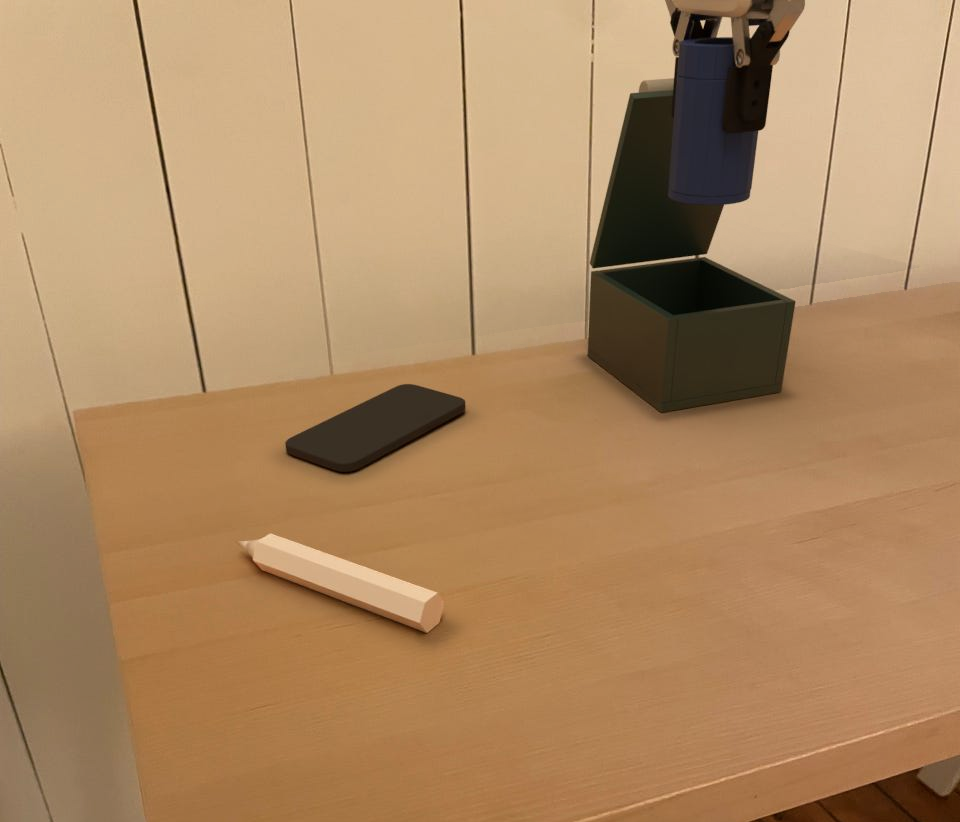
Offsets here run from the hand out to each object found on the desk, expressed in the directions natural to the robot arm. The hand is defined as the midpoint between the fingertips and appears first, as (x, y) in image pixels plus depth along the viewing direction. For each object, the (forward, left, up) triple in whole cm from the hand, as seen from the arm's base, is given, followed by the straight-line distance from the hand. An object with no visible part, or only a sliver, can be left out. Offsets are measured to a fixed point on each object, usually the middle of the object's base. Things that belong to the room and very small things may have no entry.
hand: (716, 121), depth 73 cm
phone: (+23, -12, -21) cm, 34 cm away
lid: (-6, -9, -6) cm, 13 cm away
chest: (-5, -6, -21) cm, 23 cm away
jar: (0, 0, -5) cm, 5 cm away
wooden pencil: (+38, +7, -22) cm, 44 cm away
